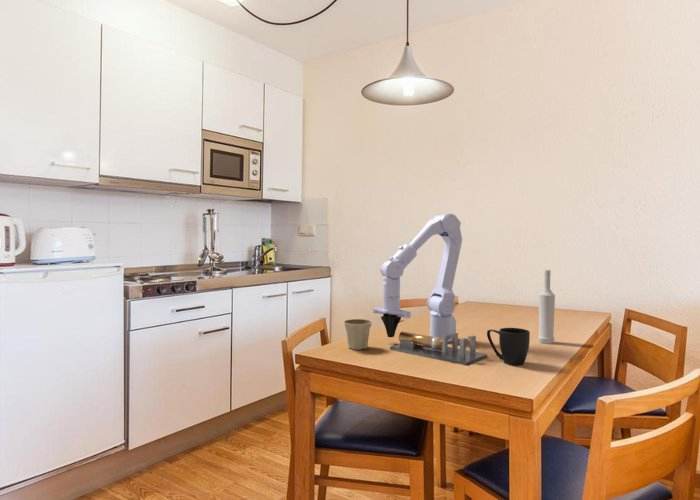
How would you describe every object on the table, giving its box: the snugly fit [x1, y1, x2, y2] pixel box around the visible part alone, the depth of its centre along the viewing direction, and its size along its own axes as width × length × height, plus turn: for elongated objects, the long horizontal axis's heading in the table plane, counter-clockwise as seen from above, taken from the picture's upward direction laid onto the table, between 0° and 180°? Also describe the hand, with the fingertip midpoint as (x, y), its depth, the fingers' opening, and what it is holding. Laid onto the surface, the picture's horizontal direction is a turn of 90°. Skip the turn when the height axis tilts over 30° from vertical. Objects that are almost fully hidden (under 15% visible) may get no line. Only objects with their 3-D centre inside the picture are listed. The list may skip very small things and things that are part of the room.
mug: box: [486, 327, 531, 367], centre depth 135 cm, size 8×12×10 cm
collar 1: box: [442, 332, 459, 355], centre depth 142 cm, size 7×1×6 cm, turn 138°
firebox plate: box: [389, 340, 488, 366], centre depth 145 cm, size 13×27×3 cm, turn 48°
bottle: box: [537, 269, 556, 345], centre depth 161 cm, size 5×5×25 cm
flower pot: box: [342, 318, 373, 351], centre depth 152 cm, size 9×9×9 cm
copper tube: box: [398, 331, 442, 350], centre depth 149 cm, size 16×4×4 cm, turn 48°
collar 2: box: [459, 335, 477, 359], centre depth 138 cm, size 7×1×6 cm, turn 138°
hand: (390, 336), depth 158 cm, fingers closed
